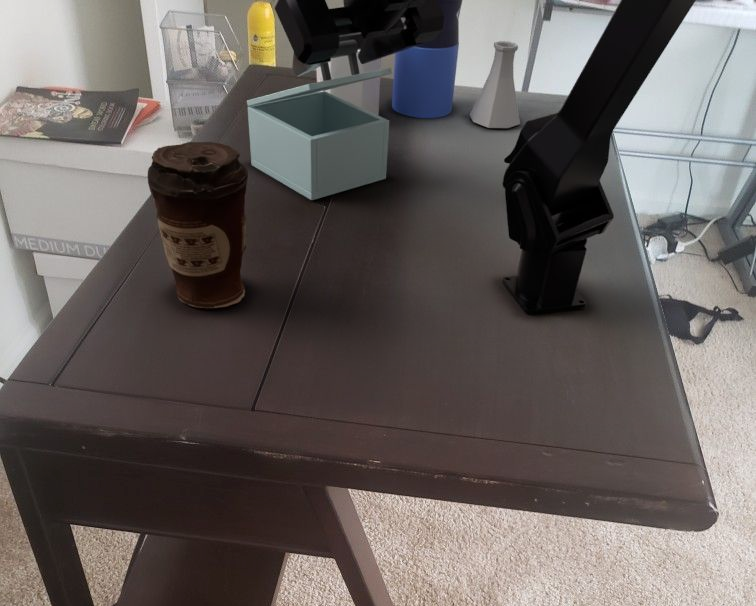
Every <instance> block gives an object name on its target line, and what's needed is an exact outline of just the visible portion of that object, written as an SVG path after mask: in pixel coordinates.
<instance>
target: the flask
mask: <svg viewBox="0 0 756 606" xmlns="http://www.w3.org/2000/svg"><path fill="white" fill-rule="evenodd" d="M493 48H494V56H493V57H494V58H493V60H492V64H491V68H490V71H489V73H488V76H487V77H486V78H487V79H486V80H485V82H484V85H483V87H482V89H481V91H480V93H479V95H478V97H477V99H476V101H475V103H474V105H473V107H472V109H471V111H470V112H469V117H470V119H471V121H472V123H475V124H478V125H480V126H483V127H486V128H488V129H510V128H512V127H515V126H519V125H521V119H520V113H519V108H518V101H517V94H516V88H515V80H514V62H515V54H516V52H517V51H518V49H519V45H518V44H517V43H515V42H512V41H508V40H506V41H505V40H504V41H503V40H500V41H495V42H493Z"/></svg>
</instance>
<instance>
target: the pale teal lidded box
mask: <svg viewBox="0 0 756 606" xmlns="http://www.w3.org/2000/svg"><path fill="white" fill-rule="evenodd" d="M247 119H248V133H249V134H248V136H249V147H250V162H251V164H250V165H251V166H252V167H253V168H256V169H257V170H259V171H260V172H262V173H264V174H265V175H267V176H269V177H271V178H272V179H274V180H276V181H277V182H280V183H281V184H283V185H285V186H286V187H288V188H290V189H291V190H293V191H295V192H296V193H297V194H300V195H301V196H303V197H305V198H306V199H308V200H310V201H314V200H318V199H321V198H324V197H325V198H326V197H328V196H331V195H336V194H339V193H341V192H345V191H349V190H353V189H355V188H359V187H362V186H365V185H366V186H367V185H369V184H372V183H376V182H379V181H383V180H386V179H387V169H388V153H389V152H388V151H389V134H390V133H389V132H390V120H389V119H387V118H385V117H382V116H380V115H376V114H374V113H372V112H369V111H367V110H365V109H363V108H361V107H358V106H356V105H354V104H352V103H350V102H348V101H345V100H343V99H341V98H339V97H337V96H334V95H332V94H330V93H328V92H326V91H322V92H315V93H310V94H305V95H300V96H295V97H290V98H286V99H281V100H276V101H271V102H266V103H261V104H257V105H252V106H247Z"/></svg>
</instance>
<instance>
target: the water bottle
mask: <svg viewBox="0 0 756 606" xmlns="http://www.w3.org/2000/svg"><path fill="white" fill-rule="evenodd" d="M438 2H439V4H440V7H441V9H442V12H443V14H444V23H443V30H442V31H441V32H440V34H439V35H438V36H437V37H436V38H435V39H434V40H433V41H428V42H424V43H423V44H422V45H419V46H415V47H412V48H409V49H406V50H403V51H400V52H397V53H394V65H393V82H392V98H391V107H392V109H393V111H395V112H396V113H399V114H401V115H404V116H407V117H411V118H418V119H419V118H420V119H437V118H443V117H446V116H448V115H449V114H451V113H452V110H453V102H454V100H453V99H454V92H455V83H456V77H457V76H456V75H457V67H458V55H459V49H460V36H459V35H460V31H459V30H460V29H459V25H460V24H459V22H460V20H459V19H460V14H461V9H462V4H463V0H438Z"/></svg>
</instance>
